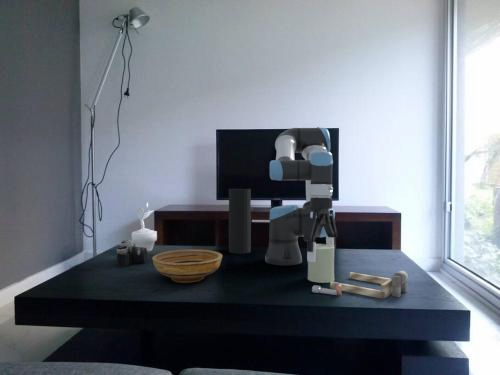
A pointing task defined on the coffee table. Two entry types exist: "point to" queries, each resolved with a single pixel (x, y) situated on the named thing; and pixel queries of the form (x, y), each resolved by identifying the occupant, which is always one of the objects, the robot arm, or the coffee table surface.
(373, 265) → the coffee table surface
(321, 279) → the can
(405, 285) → the wooden frame
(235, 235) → the vase
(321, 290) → the crank handle
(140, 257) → the camera
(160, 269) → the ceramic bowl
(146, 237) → the potted plant
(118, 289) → the coffee table surface
